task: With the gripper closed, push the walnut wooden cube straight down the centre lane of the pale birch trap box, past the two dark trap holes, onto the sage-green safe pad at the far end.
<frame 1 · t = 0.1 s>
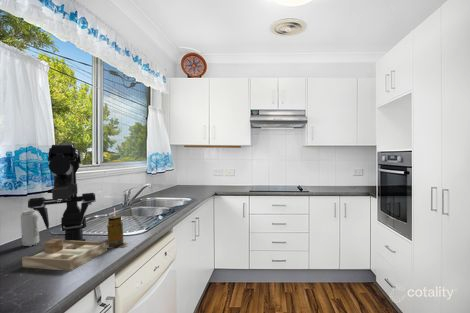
hand: (64, 226, 88), 15 cm above the countertop, tool pointing down, fingers open, 9 cm apart
condiment: (118, 245, 115), on the countertop
energy drink can: (31, 245, 118), on the countertop
trap box: (67, 258, 101), on the countertop
beverage cup: (115, 238, 124), on the countertop
walnut block: (53, 251, 102), point 2 cm above the countertop, touching trap box
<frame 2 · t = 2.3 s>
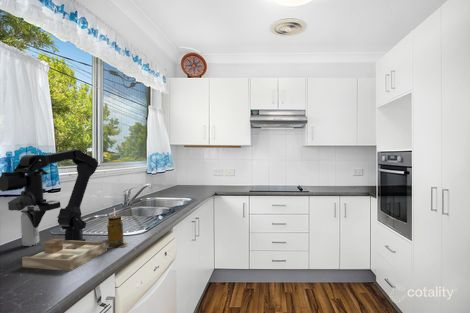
hand: (35, 227, 104), 11 cm above the countertop, tool pointing down, fingers closed
nothing on the countertop moved.
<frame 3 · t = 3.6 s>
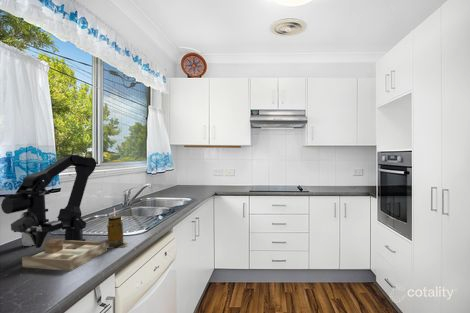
hand: (38, 247, 104), 3 cm above the countertop, tool pointing down, fingers closed
nothing on the countertop moved.
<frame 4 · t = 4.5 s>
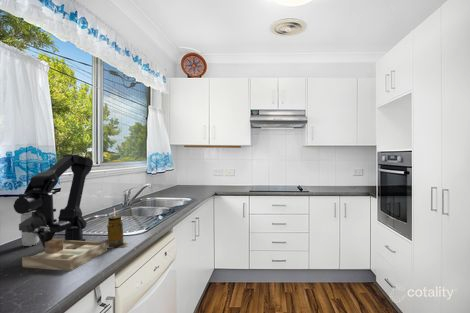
hand: (46, 247, 103), 4 cm above the countertop, tool pointing down, fingers closed
walnut block: (54, 251, 102), point 3 cm above the countertop, touching gripper
everything else where it was.
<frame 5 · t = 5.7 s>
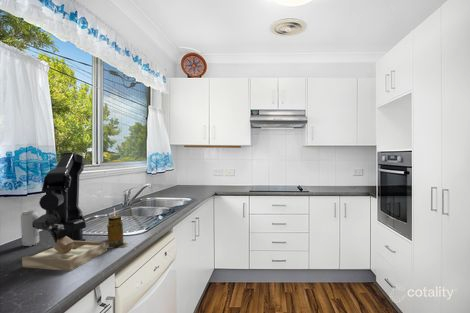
hand: (58, 246, 101), 5 cm above the countertop, tool pointing down, fingers closed, pressing on walnut block
walnut block: (62, 249, 101), point 3 cm above the countertop, tilted 28°, touching gripper, trap box
everything else where it was.
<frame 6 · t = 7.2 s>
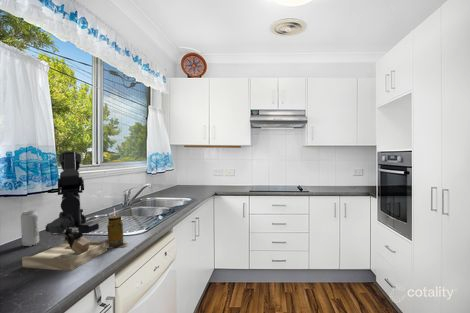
hand: (73, 249, 100), 4 cm above the countertop, tool pointing down, fingers closed
walnut block: (79, 250, 100), point 3 cm above the countertop, tilted 27°, touching gripper
everything else where it was.
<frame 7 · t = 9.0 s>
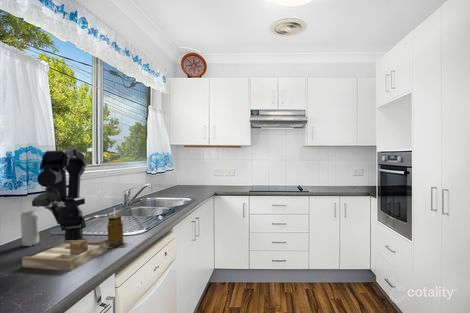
hand: (59, 223, 103), 13 cm above the countertop, tool pointing down, fingers closed
walnut block: (79, 252, 100), point 2 cm above the countertop, touching trap box
everything else where it was.
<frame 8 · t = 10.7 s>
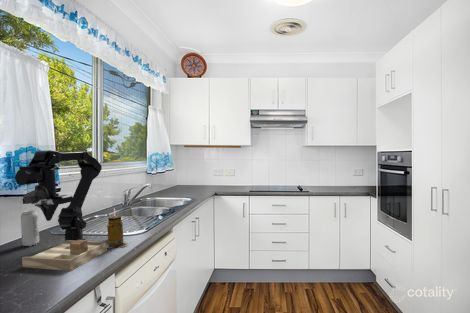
hand: (48, 220, 107), 13 cm above the countertop, tool pointing down, fingers closed
nothing on the countertop moved.
at the end: walnut block 1.1 cm from the target spot on the trap box, point 2.5 cm above the trap box's base; walnut block tilted 0°; walnut block touching trap box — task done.
